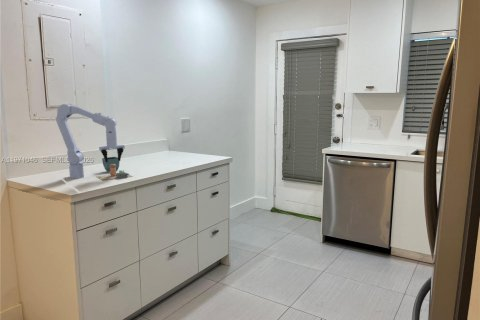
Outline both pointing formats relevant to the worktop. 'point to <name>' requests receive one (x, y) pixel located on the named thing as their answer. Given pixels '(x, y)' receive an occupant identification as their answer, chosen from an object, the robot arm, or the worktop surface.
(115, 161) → the flower pot
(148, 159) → the worktop surface
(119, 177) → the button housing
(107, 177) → the clipboard
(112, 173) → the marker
